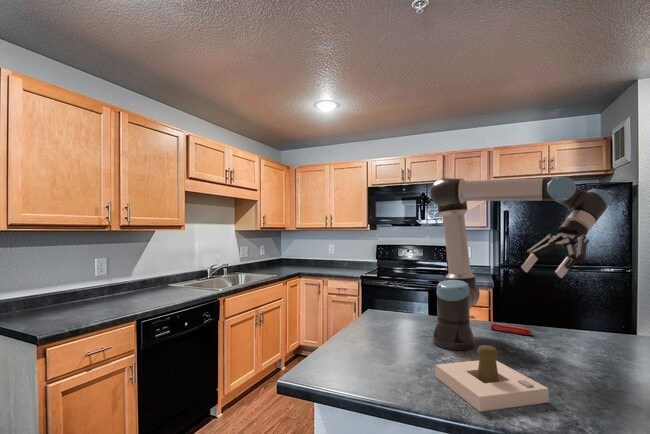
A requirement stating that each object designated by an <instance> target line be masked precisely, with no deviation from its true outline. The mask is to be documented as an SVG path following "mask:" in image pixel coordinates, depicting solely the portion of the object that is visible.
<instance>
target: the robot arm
mask: <svg viewBox="0 0 650 434" xmlns="http://www.w3.org/2000/svg"><path fill="white" fill-rule="evenodd" d="M429 195H430V198H431V200H432V202H433V203H434V204H435V205H437V210H438V211H437V212H438V214H439V215H440V216H441V217H442V220H443V221H442V222H443V229H444V230H443V231H444V240H445V250H446V259H447V268H448V273H447V274H446V276H445V280H441V281H439V282H438V284H437V286H436V311H437V312H436V314H437V316H436V317H437V318H436V319H437V321H436V325H435V327H434V331H433V334H432V343H433V344H434V345H435V346H438V347H439V348H442V349H446V350H447V349H448V350H452V351H453V350H454V351H468V350H473V349H474V348H475V347H476V339H475V337H474V334H473V330H472V327H471V322H470V309H471V308H473V307H474V306H475V305H476V304H478V301H479V300H480V288H479V286H478V285H477V281H476V276H475V274H474V273H473V272H471V264H470V263H471V262H470V255H469V245H468V236H467V229H466V227H467V226H466V218H465V215H466V213H467V212H468V202H470V201H471V202H486V201H488V202H492V201H493V202H496V201H497V202H499V201H502V202H503V201H505V202H506V201H507V202H508V201H515V202H516V201H518V202H519V201H520V202H521V201H529V202H530V201H552V202H553V201H555V202H556V203H559V204H560V205H563V206H564V207H566V208H568V209H570V210H572V211H571V212H570V213H569V215H568V216H567V217H566V218H565V220H564V221H563V222H562V224H561V225H560V226H559V227H558V233H557V234H556V235H552V233H549V234H547V235H546V236H545V237H544V238H543V239H542V240H540V241H539V242H537V243H536V244H535V245H532V246H531V247H530V248H528V249H527V251H526V252H527V253H528V254H529V255H528V257H527V258H526V259H525V261H524V262H523V263H522V265H521V266H520V268H521V269H522V270H523V272H525V273H528V272H529V271H530V270H531V269H532V268H533V266H534V265H535V263H536V262H537V261H538V259H539V257H541V256H543V255H545V254H547V253H549V252H551V251H552V250H557V249H567V251H568V256H565V258H564V260H562V262H561V263H560V264H559V265H558V266H557V269H555V270H554V273H555V274H556V275H557V277H558V278H560V279H563V277H564V276H565V275H566V274H567V272H568V271H569V270H571V269H572V268H573V267H574V265H575V264H576V263H578V262H581V263H582V262H583V263H584V262H585V261H586V255H587V245H588V244H589V242H590V240H589V238H588V237H587V234H588V233H589V232H590V231H591V229H592V228H593V227H594V225H595V224H596V223H597V221H599V219H600V218H601V217H602V216H603V214H604V213H605V212H606V210H607V209H608V207H609V206H610V204H611V203H612V197H611V195H610V194H609V193H608V192H607V191H605V190H603V189H598V188H592V189H590V190H588V191H587V190H584V189H581V188H579V187H578V186H577V185H576V183H575V181H573V179H572V178H570V177H568V176H564V175H561V176H552V177H550V178H549V177H547V178H543V177H541V178H517V179H516V178H514V179H491V180H490V179H489V180H483V179H482V180H466V179H464V178H451V177H447V178H446V177H443V178H438V179H437V180H436V181H434V182H433V183H432V185H431V187H430V191H429ZM576 244H577V246H575V245H576ZM576 247H577V248H576Z"/></svg>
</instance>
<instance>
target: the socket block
mask: <svg viewBox="0 0 650 434" xmlns="http://www.w3.org/2000/svg"><path fill="white" fill-rule="evenodd" d="M496 364H497V371H498V377H499V382H493V383H483V382H481V381H480V380H478V379H477V374H478V366H479V360H471V361H468V360H467V361H460V362H459V361H457V362H450V363H441V364H434V365H435V373H434V374H435V376H434V377H435V378H437V379H438V380H439V381H440V382H442V383H443V384H444V385H446V386H447V387H448V388H449V389H450V390H452V391H453V392H455V394H457V395H458V396H459V397H461V398H462V399H463V400H464V401H466V402H467V403H468V404H469V405H471V406H472V407H473V408H475V409H476V410H477V411H478V412H479V413H480V412H486V411H495V410H502V409H511V408H515V407H524V406H530V405H531V406H532V405H539V404H546V403H549V400H550V399H549V396H550V395H549V388H548V387H547V386H545V385H543V384H541V383H539V382H538V381H536V380H533V379H532V378H529V377H528V376H526V375H524V374H522V373H520V372H518V371H516V370H515V369H513V368H511V367H510V366H507V365H506V364H504V363H501V362H500V361H498V360H496Z"/></svg>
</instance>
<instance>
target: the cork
mask: <svg viewBox="0 0 650 434" xmlns="http://www.w3.org/2000/svg"><path fill="white" fill-rule="evenodd" d="M477 356H478V358H479V359H478V361H479V366H478V374H477V379H478V380H480V381H481V382H483V383H493V382H499V377H498V371H497V364H496V361H497V359H498V357H499V352H498V349H497V348H495V347H494V346H492V345H485V344H483V345H479V346H478V347H477Z"/></svg>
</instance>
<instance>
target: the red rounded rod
mask: <svg viewBox="0 0 650 434" xmlns="http://www.w3.org/2000/svg"><path fill="white" fill-rule="evenodd" d="M489 328H491V329H492V330H495V331H501V332H506V333H513V334H518V335H526V336H529V335H531V334H533V332H532V331H531V330H530V329H529V328H524V327H520V326H515V325H514V326H513V325H507V324H501V323H492V324H491V325H489Z"/></svg>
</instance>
